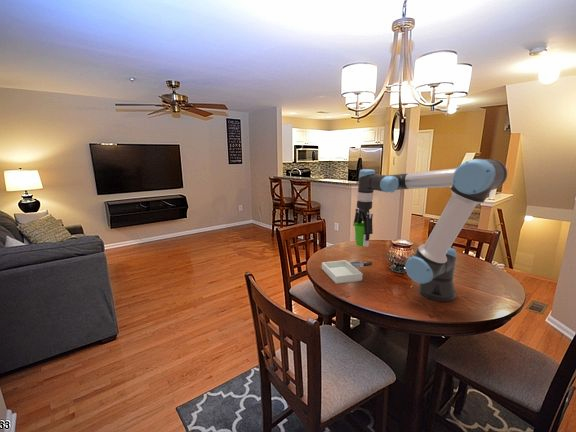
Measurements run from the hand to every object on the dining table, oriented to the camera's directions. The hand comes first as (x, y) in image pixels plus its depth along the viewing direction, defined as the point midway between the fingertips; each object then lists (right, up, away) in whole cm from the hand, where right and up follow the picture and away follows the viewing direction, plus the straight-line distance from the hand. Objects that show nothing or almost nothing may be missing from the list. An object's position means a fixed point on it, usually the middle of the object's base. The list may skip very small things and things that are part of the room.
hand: (361, 243), depth 148 cm
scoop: (+5, -15, +18) cm, 24 cm away
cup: (0, -1, 0) cm, 1 cm away
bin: (-10, -18, +6) cm, 21 cm away
